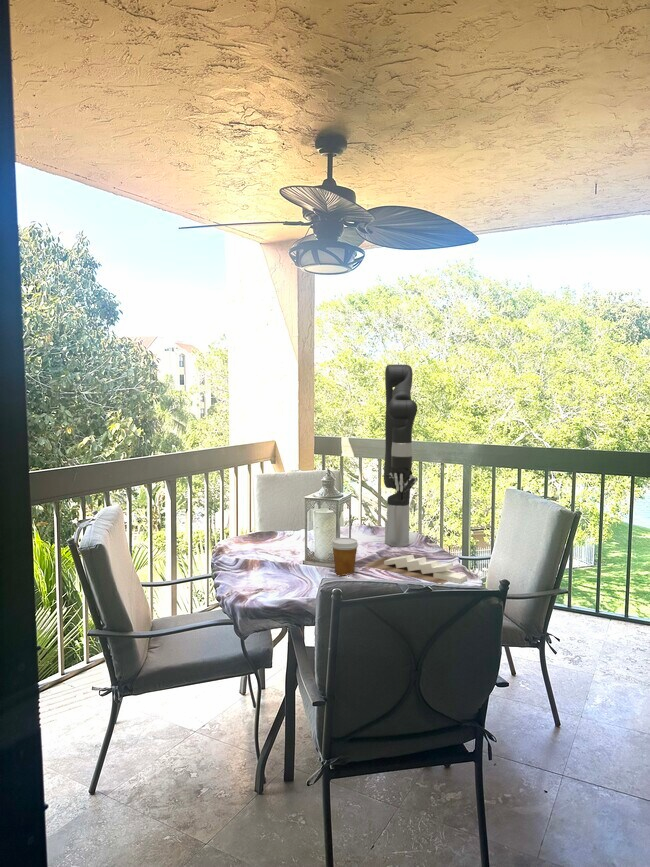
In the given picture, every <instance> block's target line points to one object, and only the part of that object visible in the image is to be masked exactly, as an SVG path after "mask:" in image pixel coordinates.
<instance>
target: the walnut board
mask: <svg viewBox="0 0 650 867" xmlns="http://www.w3.org/2000/svg"><path fill="white" fill-rule="evenodd" d="M391 558H392V557H388V556H383V557H381V558H378V559H376V560H373V561H371V562H368V563H366V564H364V566H365V567H370V568H373V569H376V570H382V571H385V572H390V573H394V574H398V575H402V576H407V577H410V578H414V579H418V580H422V581H427V582H431V583H434V584H438V583H441V584H440V585H444V584H445V583H448V582H449V581H447V580H443V579H439V578H434V577H433V573H427V574H422V572H421V570H414V571H408V568H407V567H402V568H396V565H395V564H392V565H386V566H385V564H384V561H386V560H388V559H391Z"/></svg>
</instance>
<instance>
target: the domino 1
mask: <svg viewBox="0 0 650 867" xmlns="http://www.w3.org/2000/svg"><path fill="white" fill-rule="evenodd" d="M390 558H391V559H388V560H386V561H384V564H385V566H386V565H392V564H398V563H405V562H409V561H411V560H413V559H415V555H414V554H408V555H402V556H397V557H390Z"/></svg>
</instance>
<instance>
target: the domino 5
mask: <svg viewBox="0 0 650 867" xmlns="http://www.w3.org/2000/svg"><path fill="white" fill-rule="evenodd" d="M433 577H434V578H439V579H443V580H447V581H448V582H451V583H456V584H462V583H464V582H466V581H467V580H468V575H467V574H464V573H459V572H455V571H452V570H451V571H450V570H448V571H443V572H435V573H433Z"/></svg>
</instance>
